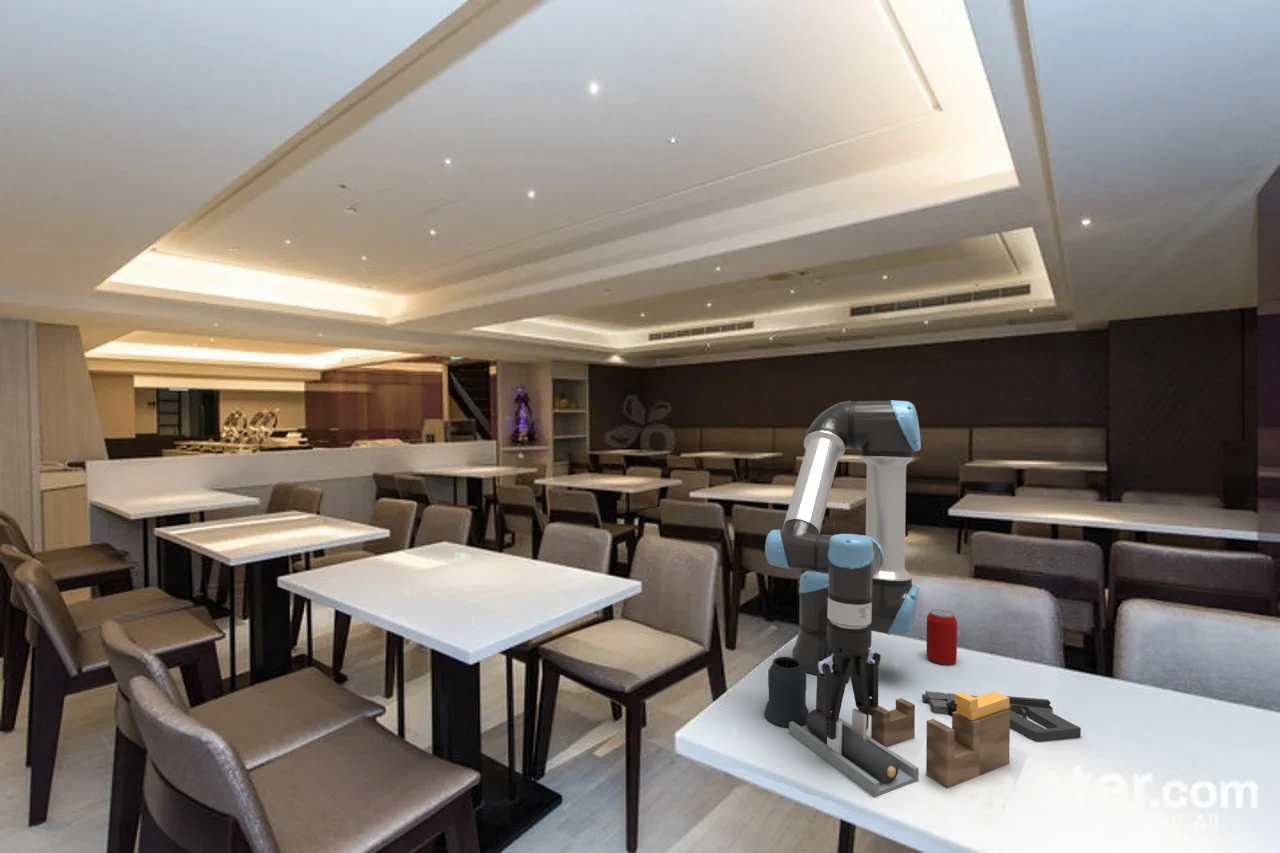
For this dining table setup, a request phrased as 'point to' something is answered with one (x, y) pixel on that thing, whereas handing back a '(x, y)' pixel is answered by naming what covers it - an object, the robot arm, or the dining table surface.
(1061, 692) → the dining table surface
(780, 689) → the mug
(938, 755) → the notched wooden block
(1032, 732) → the pistol
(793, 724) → the grey open channel
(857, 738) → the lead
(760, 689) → the dining table surface
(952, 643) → the beverage can
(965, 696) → the notched orange block
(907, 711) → the rest
